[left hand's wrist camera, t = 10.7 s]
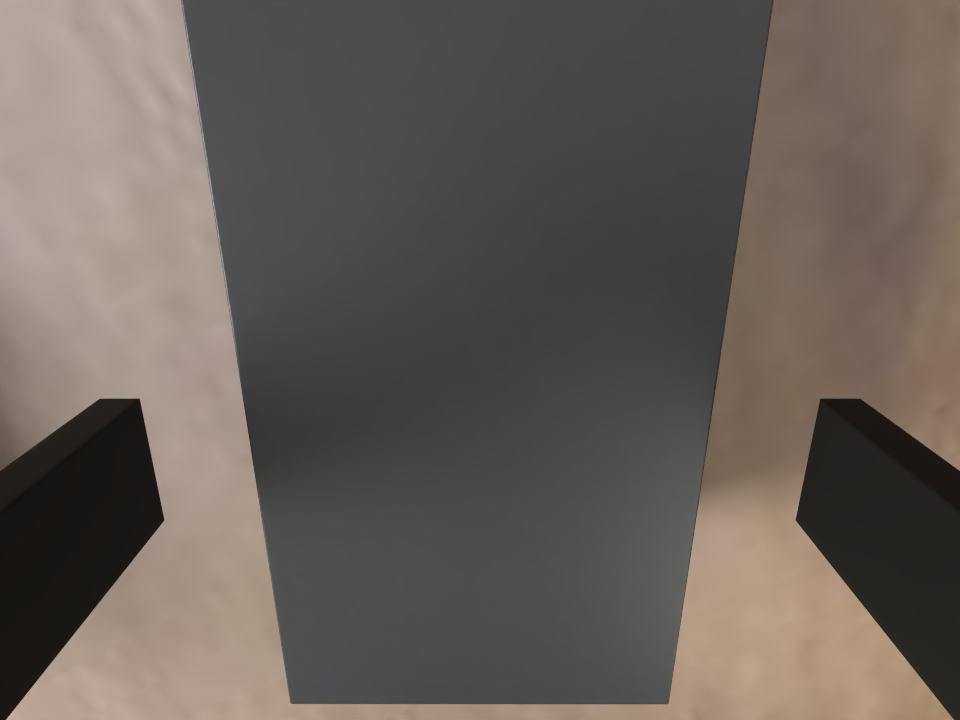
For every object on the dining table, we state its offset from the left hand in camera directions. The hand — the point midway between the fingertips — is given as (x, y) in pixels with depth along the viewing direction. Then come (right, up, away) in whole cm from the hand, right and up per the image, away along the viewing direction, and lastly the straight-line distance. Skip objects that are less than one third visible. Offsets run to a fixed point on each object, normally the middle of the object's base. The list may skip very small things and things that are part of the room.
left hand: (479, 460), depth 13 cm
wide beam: (0, +29, -5) cm, 30 cm away
